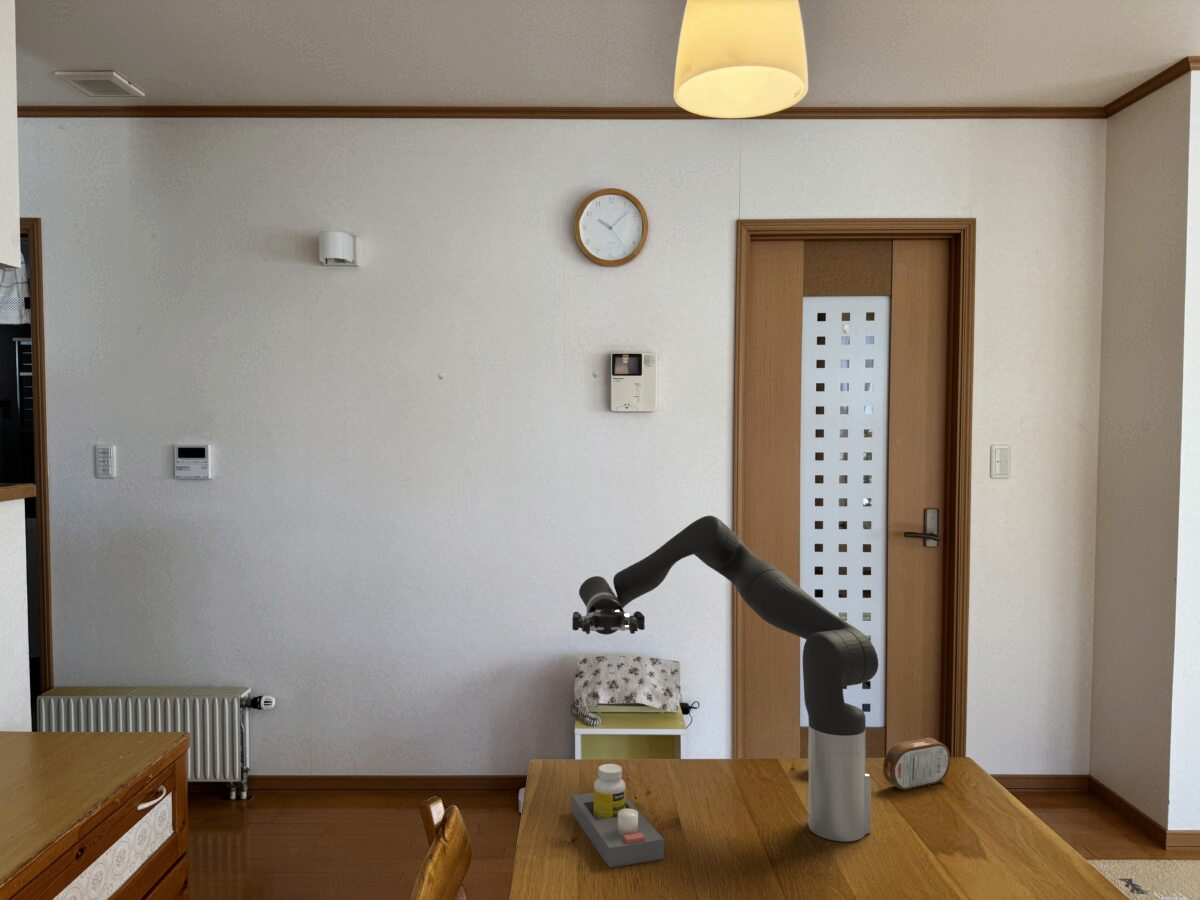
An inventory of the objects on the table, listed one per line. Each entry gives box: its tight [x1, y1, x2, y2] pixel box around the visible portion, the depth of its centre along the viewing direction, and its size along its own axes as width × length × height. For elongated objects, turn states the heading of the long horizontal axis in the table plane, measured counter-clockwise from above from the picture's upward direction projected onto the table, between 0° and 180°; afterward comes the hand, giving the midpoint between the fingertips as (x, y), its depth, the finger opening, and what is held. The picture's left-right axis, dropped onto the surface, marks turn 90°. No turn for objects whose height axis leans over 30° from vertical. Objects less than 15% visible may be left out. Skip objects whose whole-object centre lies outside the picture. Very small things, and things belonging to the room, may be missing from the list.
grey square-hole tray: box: [571, 792, 665, 869], centre depth 132 cm, size 9×20×6 cm, turn 19°
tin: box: [882, 737, 951, 791], centre depth 152 cm, size 15×3×8 cm, turn 114°
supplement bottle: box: [593, 763, 627, 820], centre depth 135 cm, size 5×5×10 cm
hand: (610, 628), depth 151 cm, fingers open, 8 cm apart
